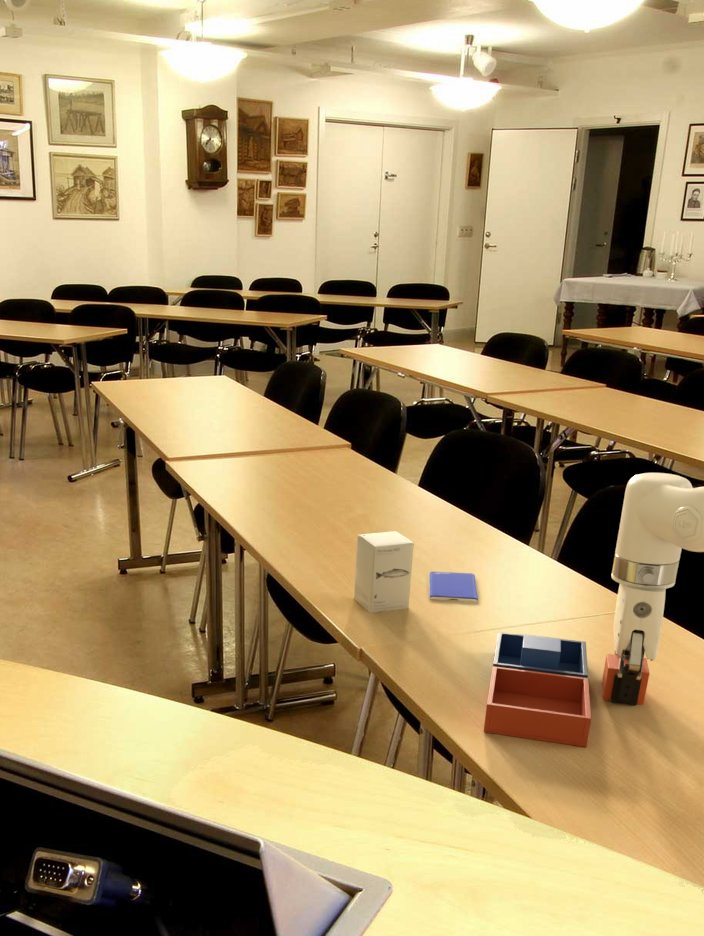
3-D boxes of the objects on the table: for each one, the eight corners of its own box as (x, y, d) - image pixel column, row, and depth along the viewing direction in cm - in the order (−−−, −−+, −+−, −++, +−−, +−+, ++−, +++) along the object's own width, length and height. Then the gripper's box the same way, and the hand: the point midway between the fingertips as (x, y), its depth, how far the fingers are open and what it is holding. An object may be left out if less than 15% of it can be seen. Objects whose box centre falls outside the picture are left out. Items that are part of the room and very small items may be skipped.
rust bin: (584, 704, 123) (588, 677, 122) (586, 747, 113) (591, 718, 111) (489, 691, 128) (492, 666, 126) (483, 731, 117) (486, 704, 116)
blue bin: (581, 666, 134) (585, 641, 133) (583, 702, 124) (588, 675, 123) (495, 655, 139) (498, 631, 137) (490, 689, 128) (493, 663, 127)
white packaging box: (369, 617, 155) (373, 546, 150) (352, 601, 161) (356, 533, 156) (409, 612, 156) (415, 542, 151) (391, 597, 163) (396, 529, 158)
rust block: (640, 690, 127) (646, 658, 125) (643, 706, 122) (649, 672, 121) (601, 685, 128) (606, 653, 127) (602, 701, 124) (608, 667, 122)
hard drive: (429, 571, 170) (429, 595, 159) (474, 573, 168) (478, 597, 157) (428, 578, 171) (428, 603, 160) (474, 581, 169) (477, 606, 158)
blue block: (556, 669, 132) (560, 638, 131) (556, 684, 128) (560, 651, 126) (519, 665, 134) (523, 634, 132) (518, 679, 130) (522, 647, 128)
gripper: (684, 594, 110) (658, 726, 117) (669, 552, 125) (646, 672, 131) (616, 587, 112) (594, 717, 119) (609, 548, 127) (590, 666, 134)
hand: (622, 693), depth 125 cm, fingers closed on rust block, 5 cm apart
